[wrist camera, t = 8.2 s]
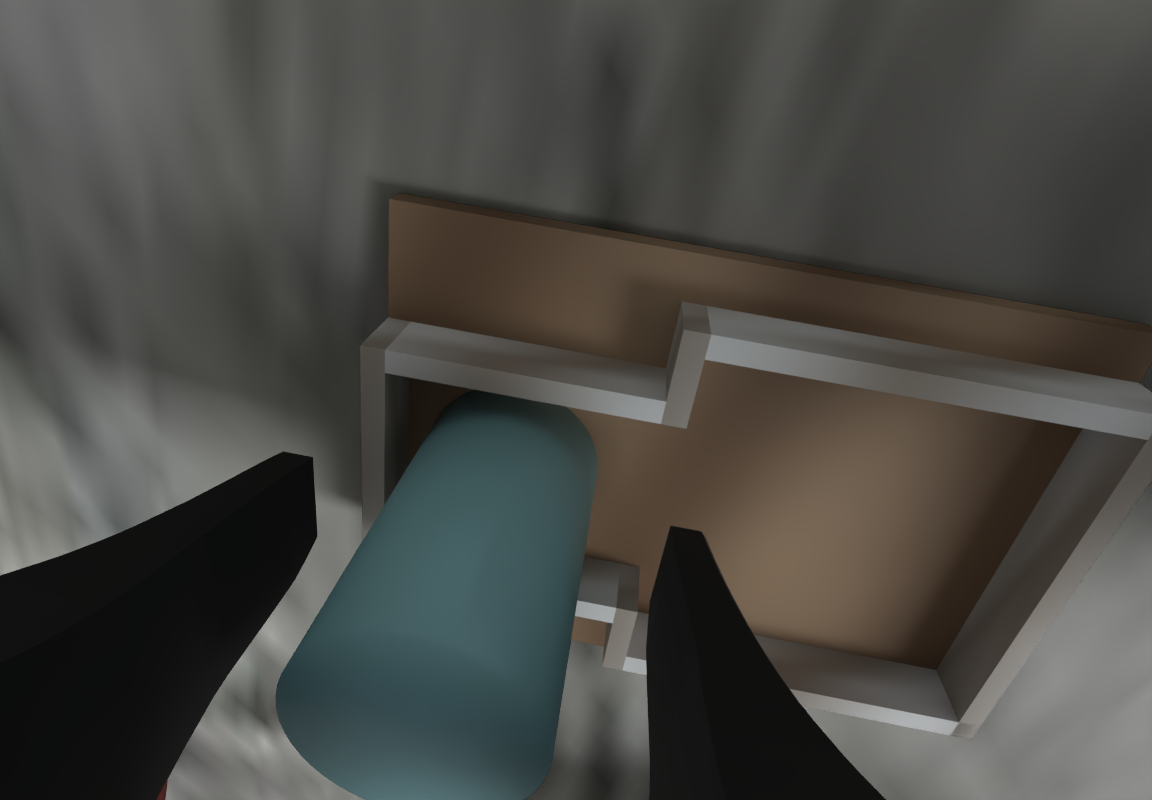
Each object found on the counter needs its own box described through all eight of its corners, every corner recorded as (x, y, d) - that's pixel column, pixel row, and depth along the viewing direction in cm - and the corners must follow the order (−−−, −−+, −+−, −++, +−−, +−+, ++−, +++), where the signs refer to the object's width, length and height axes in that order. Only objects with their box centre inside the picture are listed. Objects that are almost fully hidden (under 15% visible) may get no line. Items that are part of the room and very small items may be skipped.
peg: (618, 413, 15) (584, 681, 8) (573, 546, 16) (519, 844, 10) (442, 363, 14) (279, 598, 8) (418, 504, 16) (272, 777, 10)
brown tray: (1147, 324, 13) (1228, 370, 11) (924, 692, 18) (953, 764, 16) (399, 193, 13) (357, 216, 12) (393, 587, 19) (364, 646, 17)
